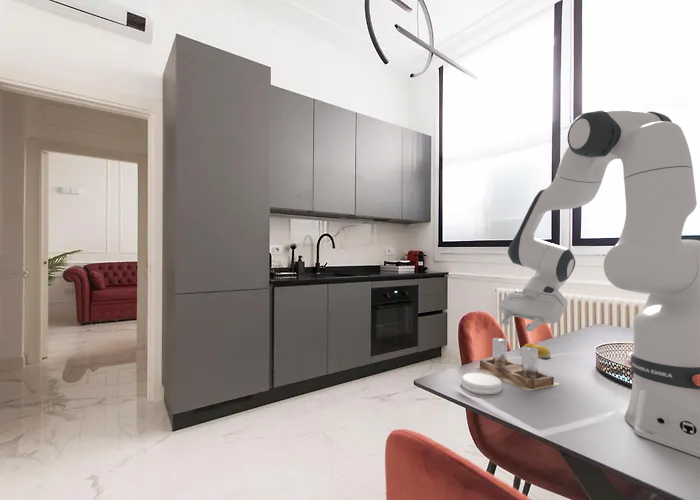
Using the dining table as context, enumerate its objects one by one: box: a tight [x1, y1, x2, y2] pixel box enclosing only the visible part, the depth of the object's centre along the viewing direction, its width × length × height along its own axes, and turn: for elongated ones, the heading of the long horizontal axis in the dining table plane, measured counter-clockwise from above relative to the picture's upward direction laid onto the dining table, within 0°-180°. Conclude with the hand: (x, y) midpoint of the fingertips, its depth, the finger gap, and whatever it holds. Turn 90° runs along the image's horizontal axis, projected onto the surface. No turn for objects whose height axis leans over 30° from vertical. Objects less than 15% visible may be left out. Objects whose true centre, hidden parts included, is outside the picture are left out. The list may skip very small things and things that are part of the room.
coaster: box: [461, 372, 503, 399], centre depth 93 cm, size 10×10×4 cm
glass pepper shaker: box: [492, 337, 508, 367], centre depth 107 cm, size 4×4×9 cm
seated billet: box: [521, 346, 539, 379], centre depth 97 cm, size 4×4×9 cm
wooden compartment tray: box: [473, 357, 561, 392], centre depth 102 cm, size 20×12×3 cm, turn 21°
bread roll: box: [520, 342, 551, 359], centre depth 124 cm, size 8×9×4 cm
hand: (515, 327), depth 109 cm, fingers open, 8 cm apart
